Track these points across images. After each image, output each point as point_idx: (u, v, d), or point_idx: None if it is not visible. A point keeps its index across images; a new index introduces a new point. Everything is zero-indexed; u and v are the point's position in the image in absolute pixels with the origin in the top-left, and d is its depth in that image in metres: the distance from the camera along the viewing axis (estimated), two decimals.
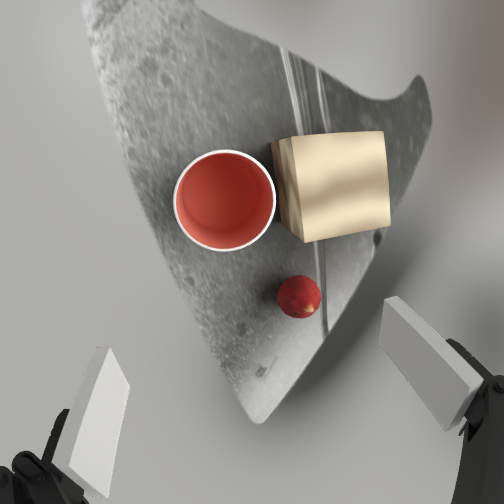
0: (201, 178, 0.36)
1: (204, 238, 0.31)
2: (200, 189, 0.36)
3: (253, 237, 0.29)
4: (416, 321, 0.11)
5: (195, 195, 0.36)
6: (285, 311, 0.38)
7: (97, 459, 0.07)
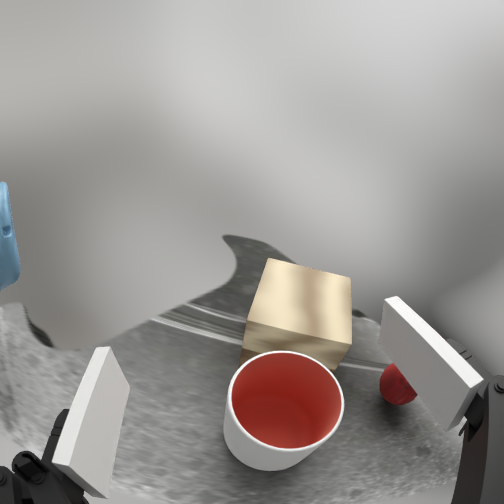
0: None
1: None
2: None
3: (335, 387, 0.23)
4: (416, 321, 0.11)
5: None
6: (414, 393, 0.27)
7: (97, 459, 0.07)
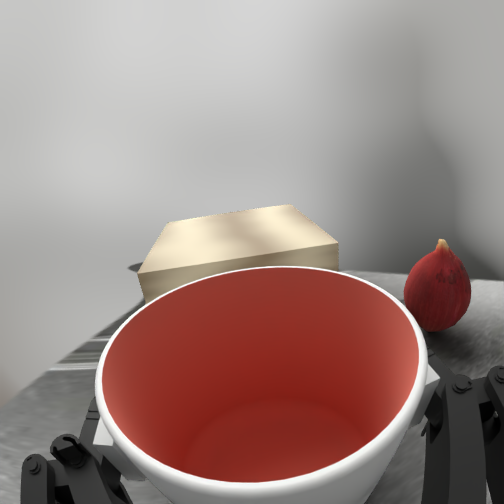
0: None
1: None
2: None
3: (351, 288, 0.11)
4: None
5: None
6: (467, 287, 0.17)
7: None
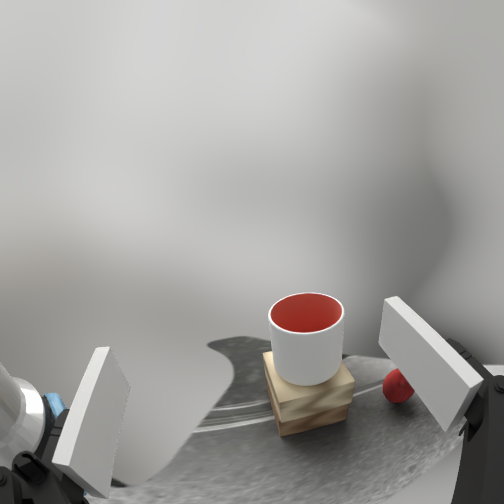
0: None
1: None
2: None
3: (329, 299, 0.40)
4: (416, 321, 0.11)
5: None
6: None
7: (97, 459, 0.07)
